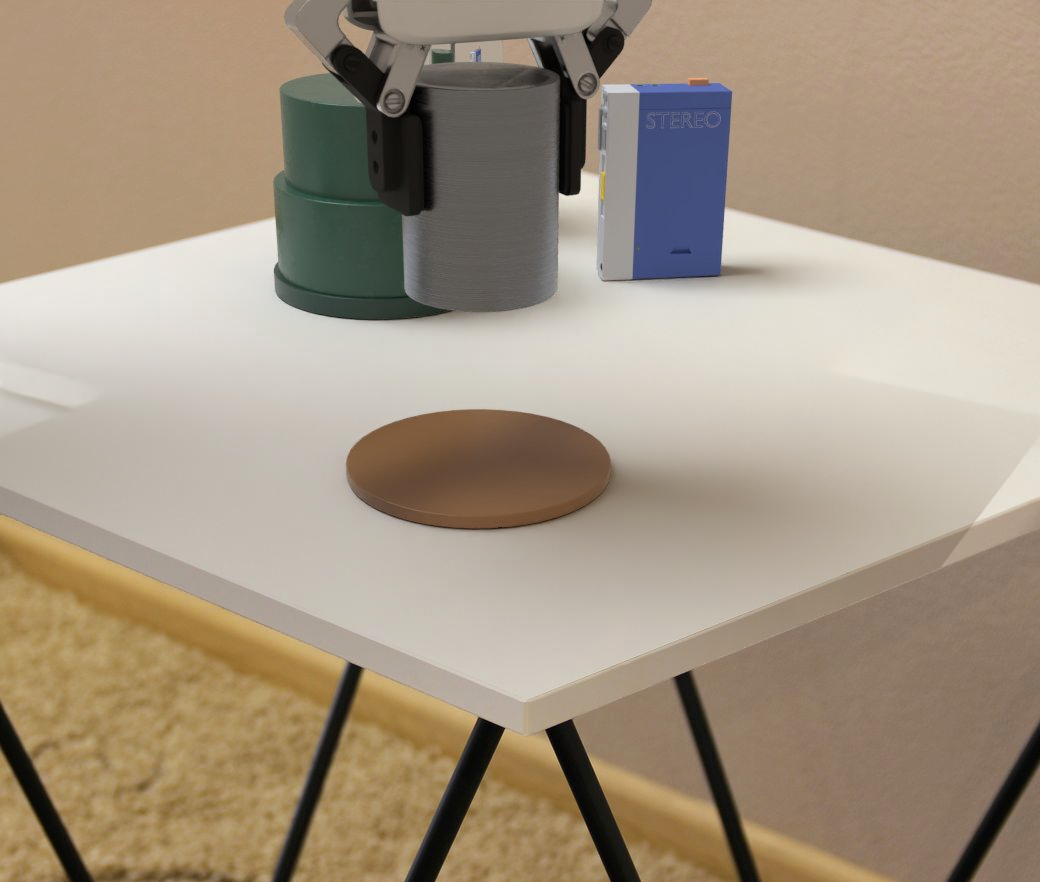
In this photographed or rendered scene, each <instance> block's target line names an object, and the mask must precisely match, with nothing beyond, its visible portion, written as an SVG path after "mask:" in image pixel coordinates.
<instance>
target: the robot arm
mask: <svg viewBox="0 0 1040 882" xmlns="http://www.w3.org/2000/svg"><path fill="white" fill-rule="evenodd" d="M652 4H653V0H292V2H291V3H290V4H289V5H288V6H287V8H286V9H285V11H284V14H283V20H284V23H285V25H286V26H287V28H288V29H289V30H290V31H291V32H292V33H293V35H295V36H296V37H297V39H299V41H300V42H302V44H303V45H304V46H305V47H306V48H307V49H308V50H309V51H310V52H311V53H312V54H313V55H314V56H315V57H316V58H317V59H318V60H319V61H320V63H321V65H322V66H323V67H324V69H326V70H327V71H328V73H331V74H332V75H333V76H334V77H335V78H336V79H337V80H338V81H339V82H340V83H341V84H342V85H343V86H344V87H345V88H346V89H348V90H349V91H350V92H351V93H352V94H353V95H354V98H355V99H356V101H357V102H359V103H360V104H362V105H364V106H365V107H366V128H367V152H368V174H369V180H370V184H371V186H372V188H373V189H374V190H375V191H376V192H377V194H378V198H379V200H380V202H381V203H383V204H385V205H387V206H388V207H390V208H392V209H394V210H396V211H397V212H399V213H401V214H403V215H404V216H407V217H408V216H415V215H419V214H420V213H421V211H423V210H424V173H423V134H422V122H421V119H420V118H419V117H418V116H416V115H414V114H411V113H410V99H411V97H412V94H413V92H414V89H415V86H416V84H417V81H418V79H419V76H420V73H421V71H422V68H423V66H424V63H425V60H426V58H427V55H428V53H429V50H430V47H431V45H437V44H453V43H468V42H483V41H497V40H503V41H509V40H523V39H526V41H527V43H528V45H529V47H530V50H531V52H532V55H533V58H534V60H535V62H536V65H537V67H540V68H544V69H547V70H550V71H553V72H555V73H557V74H558V75H559V77H560V137H559V194H561V195H563V196H565V197H569V196H577V195H579V194H580V193H581V190H582V189H581V188H582V169H584V167H585V164H586V159H587V109H588V100H590V99H593V98H594V97H595V96H596V95H597V94H598V92H599V90H600V87H601V81H600V80H601V78H602V77H603V76H604V75H605V74H606V72H607V71H608V69H609V68H610V67H611V66H612V65H613V63H614V62H615V61H616V60H617V58H618V57H619V56H620V54H621V53H622V51H624V47H625V40H626V39H627V38H630V37H631V35H632V34H633V32H634V31H635V30H636V29H637V27H638V25H639V24H640V22H641V21H643V18H644V17H645V16H646V15H647V13H648V12H649V11H650V9H651V7H652ZM341 15H342V16H343V18H344V19H345V20H346V21H347V22H349V23H350V24H351V25H353V26H355V27H357V28H359V29H362V30H366V31H372V35H371V37H370V39H369V43H368V44H367V48H366V51H365V53H364V52H363V51H362V50H361V49H360V48H358V47H356V46H355V45H354V44H353V43H352V42H351V41H350V39H349V38H348V37H347V35H346V34H345V33H344V31H343V30H342V29H341V27H340V24H339V23H340V22H339V19H340V16H341Z"/></svg>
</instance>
